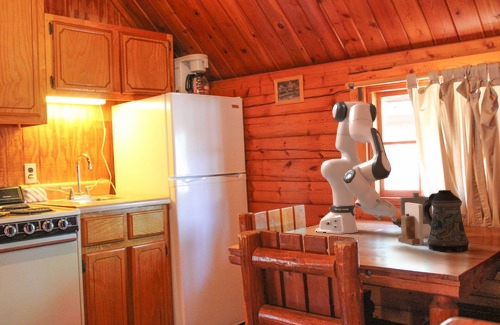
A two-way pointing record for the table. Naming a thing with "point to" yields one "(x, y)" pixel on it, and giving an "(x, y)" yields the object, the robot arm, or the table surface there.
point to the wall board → (417, 212)
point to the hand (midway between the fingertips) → (388, 219)
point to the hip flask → (414, 199)
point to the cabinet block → (407, 226)
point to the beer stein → (445, 223)
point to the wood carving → (425, 225)
